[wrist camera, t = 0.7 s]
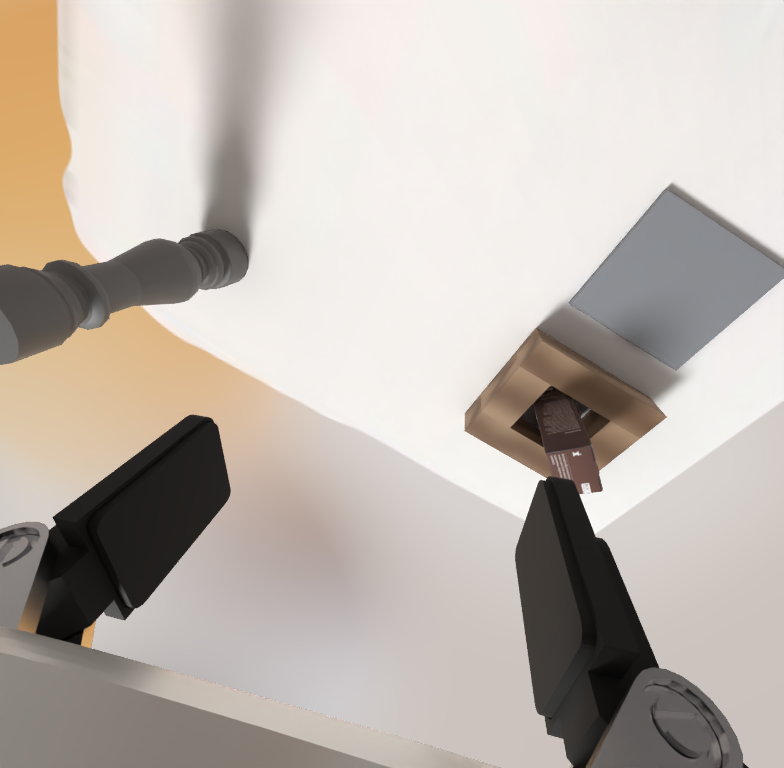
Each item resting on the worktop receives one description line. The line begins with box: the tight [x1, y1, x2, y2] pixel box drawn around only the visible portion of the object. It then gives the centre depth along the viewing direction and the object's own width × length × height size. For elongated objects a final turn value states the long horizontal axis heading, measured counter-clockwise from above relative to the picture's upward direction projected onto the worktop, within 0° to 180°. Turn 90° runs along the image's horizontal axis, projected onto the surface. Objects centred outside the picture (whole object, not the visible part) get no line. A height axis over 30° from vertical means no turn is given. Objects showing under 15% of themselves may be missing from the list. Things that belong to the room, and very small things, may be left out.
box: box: [533, 386, 603, 494], centre depth 38 cm, size 6×4×12 cm
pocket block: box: [465, 328, 666, 478], centre depth 42 cm, size 14×16×4 cm
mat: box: [569, 190, 784, 370], centre depth 35 cm, size 12×14×1 cm
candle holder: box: [0, 230, 248, 365], centre depth 32 cm, size 6×6×25 cm
